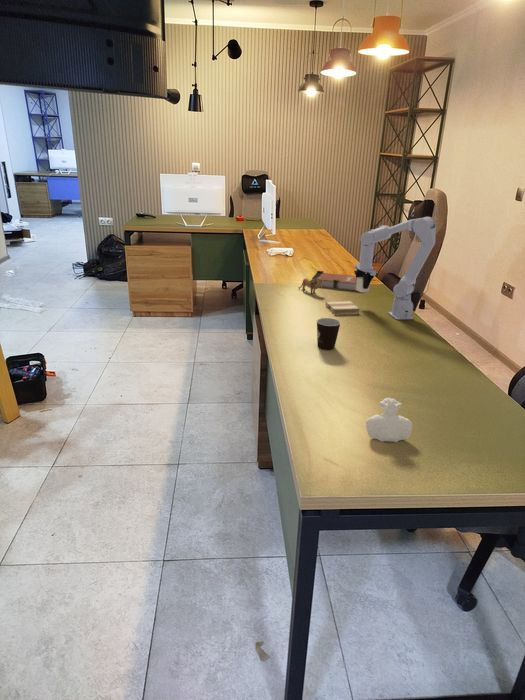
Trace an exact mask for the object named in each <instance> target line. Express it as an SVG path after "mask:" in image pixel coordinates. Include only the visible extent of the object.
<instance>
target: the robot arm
mask: <svg viewBox="0 0 525 700" xmlns="http://www.w3.org/2000/svg"><path fill="white" fill-rule="evenodd" d="M436 229H437V224H436V222H435V220H434V218H433V217H431V216H424V217H419V218H413V219H409V220H406V221H403V222H401V223H397V224H396V225H392V226H388V225H384V224H382V225H380V226H379V227H377V228H375V229H374V228H372V229H370V230H369V231H365V232H363V233H362V234H361V235H360V237H359V239H360V240H359V241H360V243H361V248H360V255H359V263H354V266H353V267H354V269H355V270H354V275H355V276H356V278H357V277H363V288H364V289H368V287H369V284H370V285H371V282H372V280H373V279H374V278H375V276H376V275H377V274H376V273H377V271H376V270H374V267H373V260H374V259H373V258H374V253H375V244H376V243H379V242H383V241H385V240H388V239H390V238H391V236H392V235H393V234H396V233H399V232H400V233H401V232H404V231H407V230H408V231H410V232H412V231H413V233H414V234H415V235H416V236H417V237H418V238H419V240H420V241H419V242H420V245H419V247H418V249H417V251H416V253H415V254H414V256H413V258H412V260H411V262H410V264H409V267H407V269H406V272H405V273H404V274H403V277H401V278H400V280H399V281H398V283H396V284H395V285H394V286H393V288H392V290H393V291H392V293H393V295H394V296H393V303H392V309H391V311H388V312H387V313H388V314H389V315H390V316H391V317H392V318H394V319H395V320H398V321H399V320H414V317H413V313H414V311H413V310H414V303H413V301H412V293H413V292H414V291H415V284H416V282H417V280H416V279H417V278H418V276H419V274H420V272H421V270H422V269H423V267H424V264H425V263H426V261H427V260H428V257H429V256H430V254H431V252H432V250H433V248H434V247H435V245H436V233H437V232H436V231H437V230H436ZM369 288H370V287H369Z"/></svg>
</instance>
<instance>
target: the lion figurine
mask: <svg viewBox="0 0 525 700" xmlns="http://www.w3.org/2000/svg"><path fill="white" fill-rule="evenodd" d="M322 284H323V281H322V280H321V278H319V277H317V278H315V279H312V278H311V279H309V278H304V279H302V283H301V285H300V286H299V287H298V289H302V290H301V291H305V290H306V287H307V288H309V289H310V295H311V294H313V295H314V293H316V290H317V289H319V288H321V287H320V286H321V285H322ZM304 289H305V290H304Z"/></svg>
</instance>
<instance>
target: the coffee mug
mask: <svg viewBox="0 0 525 700" xmlns="http://www.w3.org/2000/svg"><path fill="white" fill-rule="evenodd" d="M340 326H341V321H339V320H338V319H336V318H331V317H321V318H318V319H317V320H316V336H317V337H316V339H317V348H318V347H319V348H318V349H320V350H324V351H333V350H335V347H336V343H337V339H338V335H339V331H340Z"/></svg>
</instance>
